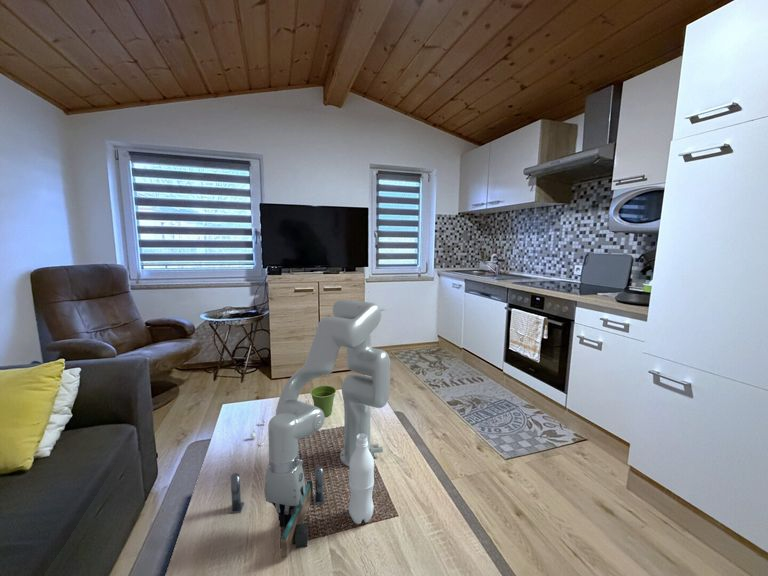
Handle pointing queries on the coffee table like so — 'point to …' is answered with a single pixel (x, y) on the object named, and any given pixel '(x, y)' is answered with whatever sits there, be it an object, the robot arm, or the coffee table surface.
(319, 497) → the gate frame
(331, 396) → the plant pot
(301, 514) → the gate
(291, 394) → the robot arm
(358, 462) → the water bottle
